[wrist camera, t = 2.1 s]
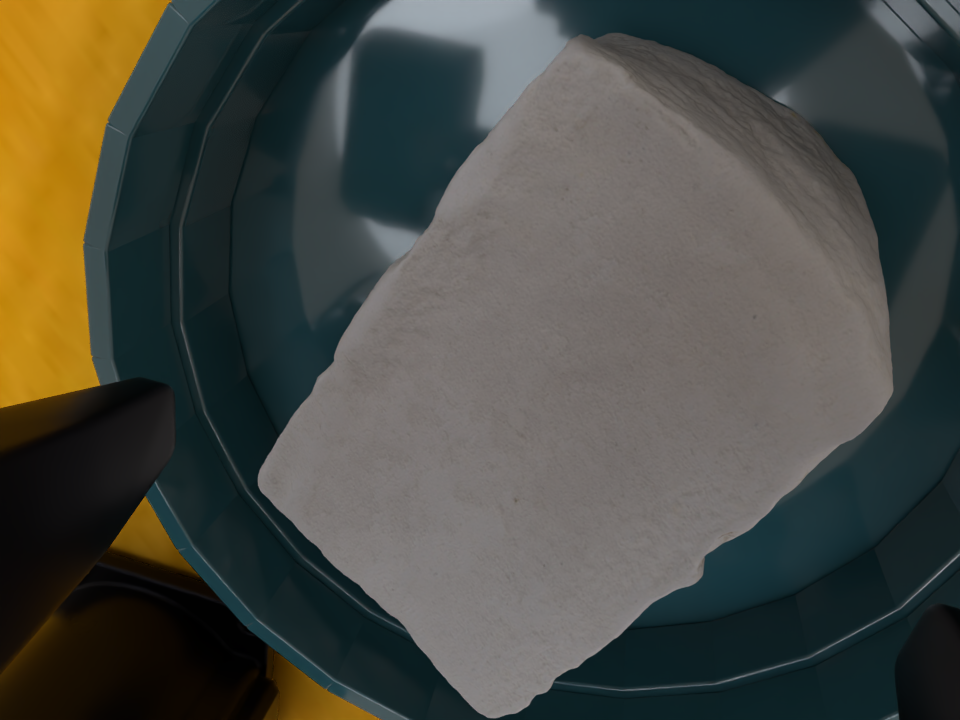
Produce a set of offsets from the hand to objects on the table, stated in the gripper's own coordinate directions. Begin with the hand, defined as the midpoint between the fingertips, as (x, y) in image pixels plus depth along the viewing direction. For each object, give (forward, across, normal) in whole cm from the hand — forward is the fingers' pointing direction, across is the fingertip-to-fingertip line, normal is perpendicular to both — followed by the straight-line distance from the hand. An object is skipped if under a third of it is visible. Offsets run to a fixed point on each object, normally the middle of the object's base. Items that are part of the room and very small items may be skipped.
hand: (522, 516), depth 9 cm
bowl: (+6, 0, 0) cm, 6 cm away
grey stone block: (+5, 0, 0) cm, 5 cm away
